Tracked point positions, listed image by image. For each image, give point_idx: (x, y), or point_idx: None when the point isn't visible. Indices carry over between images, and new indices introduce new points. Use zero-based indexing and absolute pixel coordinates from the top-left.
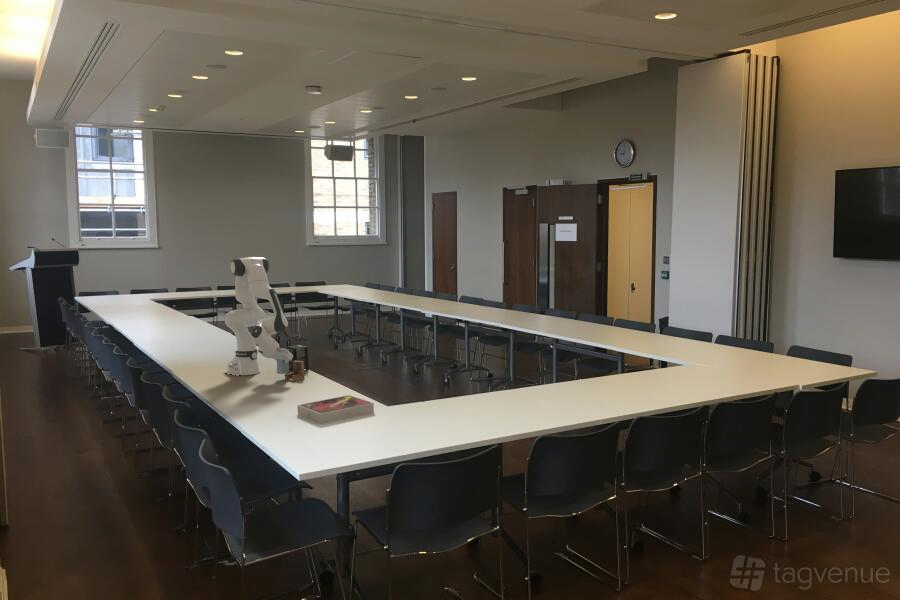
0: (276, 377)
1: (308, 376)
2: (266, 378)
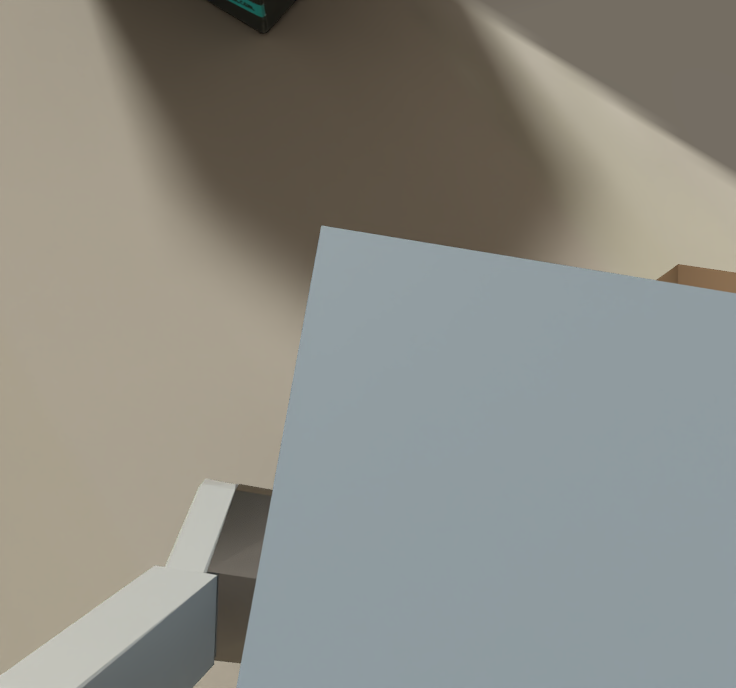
0: (170, 459)
1: (669, 246)
2: (18, 592)
